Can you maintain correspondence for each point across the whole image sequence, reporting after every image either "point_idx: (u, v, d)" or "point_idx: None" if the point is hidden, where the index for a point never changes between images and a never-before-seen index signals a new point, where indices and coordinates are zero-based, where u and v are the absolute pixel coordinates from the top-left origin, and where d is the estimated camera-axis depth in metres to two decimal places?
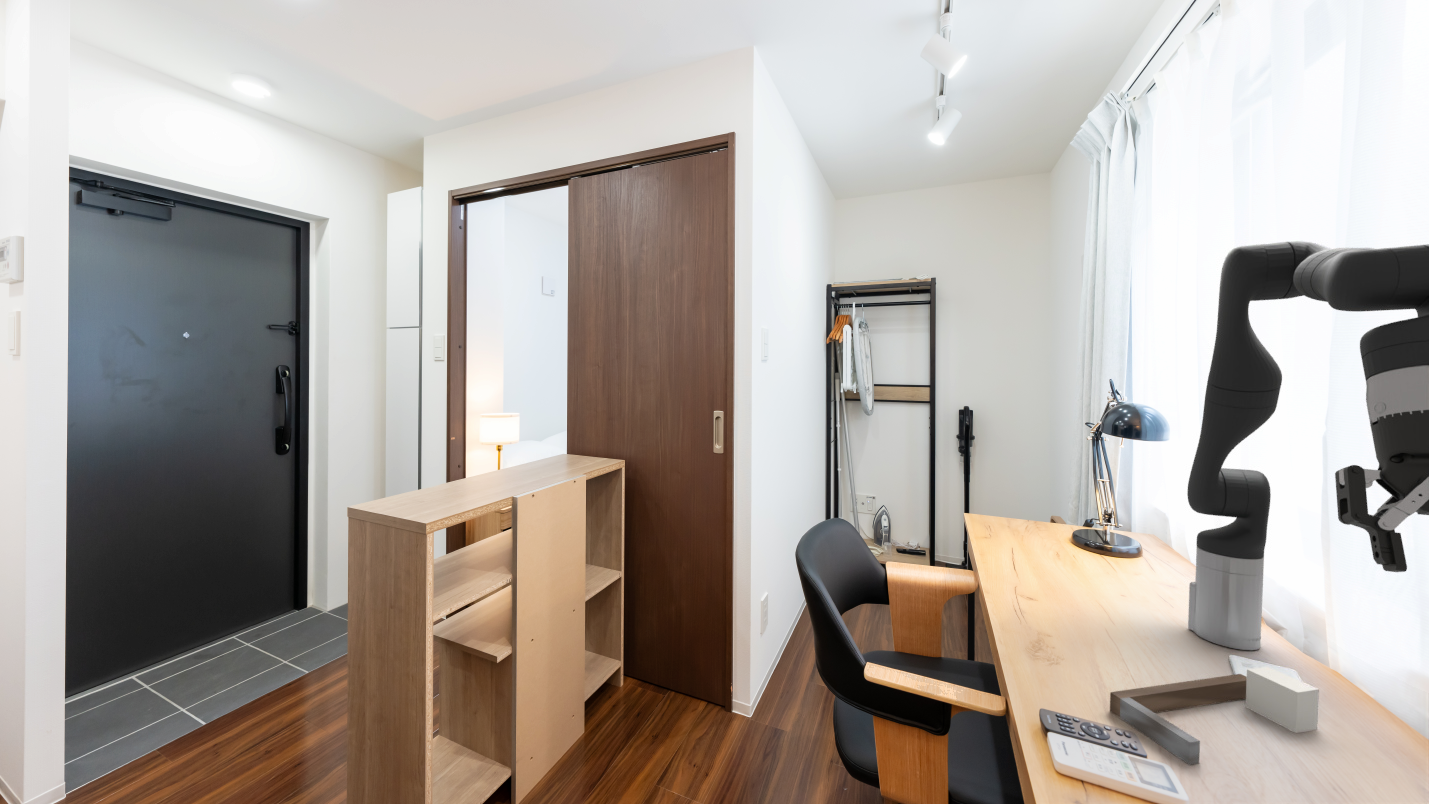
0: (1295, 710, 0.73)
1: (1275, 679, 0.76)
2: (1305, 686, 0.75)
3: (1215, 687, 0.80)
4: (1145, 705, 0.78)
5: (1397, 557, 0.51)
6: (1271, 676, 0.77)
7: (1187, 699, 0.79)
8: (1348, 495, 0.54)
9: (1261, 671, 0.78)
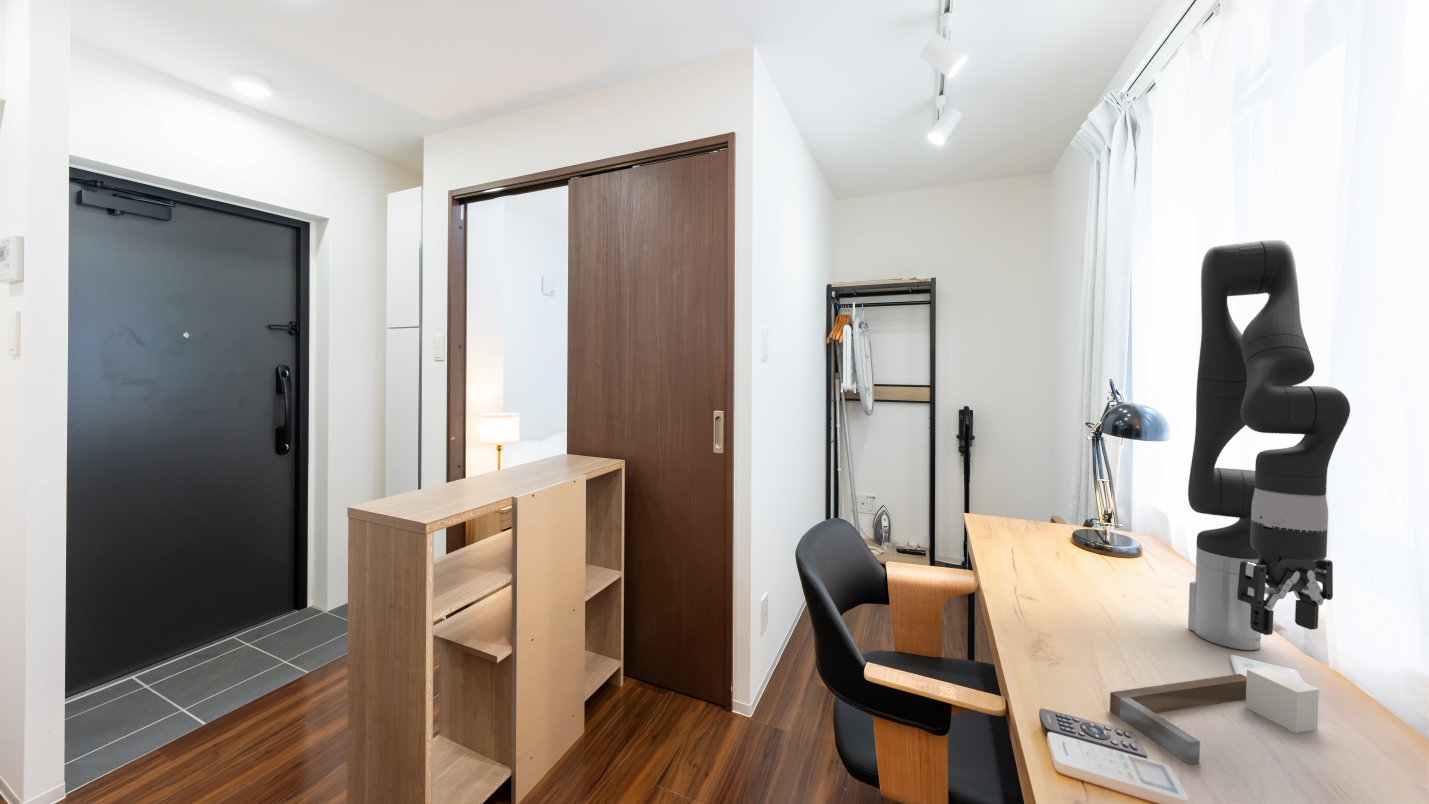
0: (1295, 710, 0.73)
1: (1275, 679, 0.76)
2: (1305, 686, 0.75)
3: (1215, 687, 0.80)
4: (1145, 705, 0.78)
5: (1269, 627, 0.74)
6: (1270, 676, 0.77)
7: (1187, 699, 0.79)
8: (1257, 588, 0.73)
9: (1261, 671, 0.78)
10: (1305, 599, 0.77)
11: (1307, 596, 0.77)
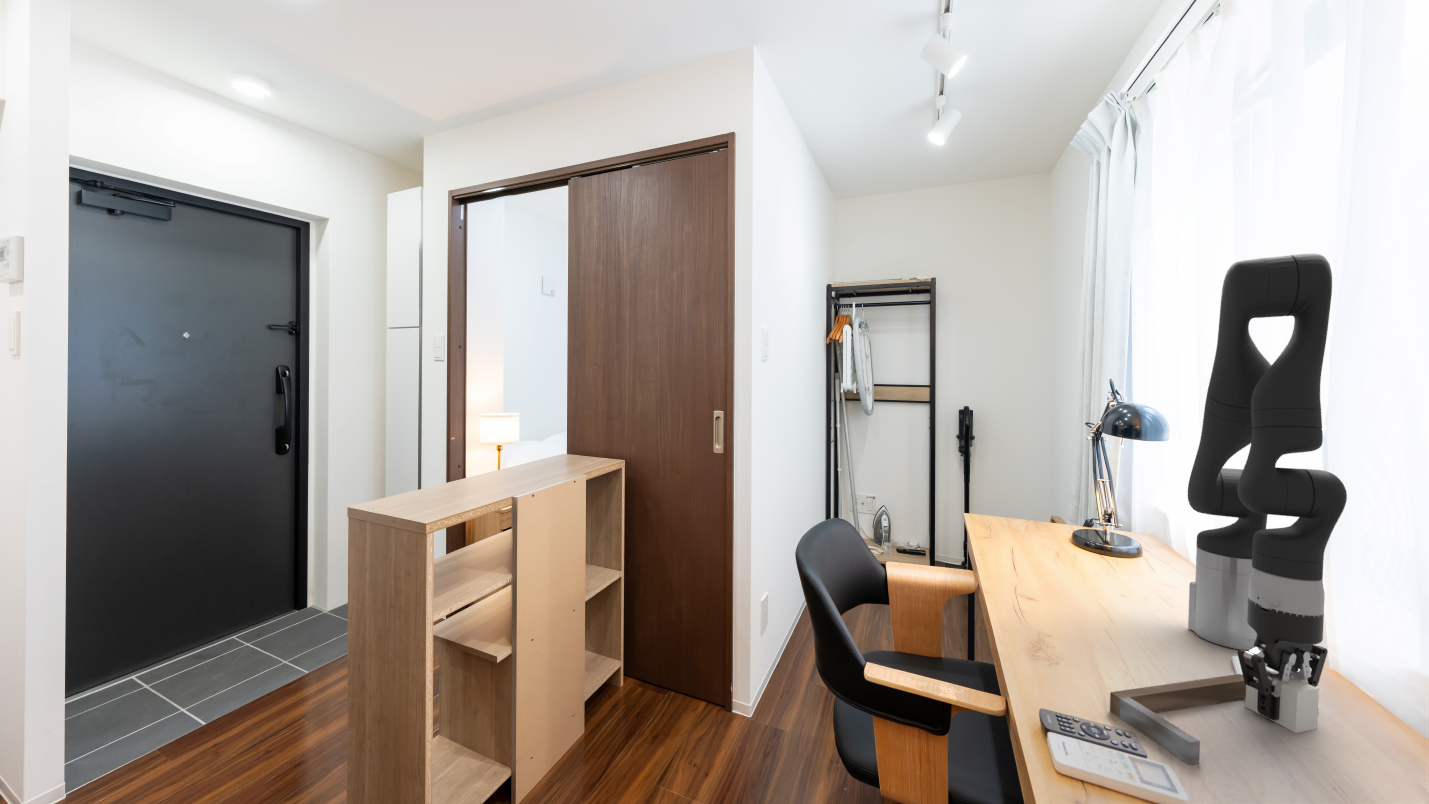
0: (1295, 710, 0.73)
1: None
2: (1305, 685, 0.75)
3: (1215, 687, 0.80)
4: (1145, 705, 0.78)
5: (1276, 713, 0.75)
6: None
7: (1187, 699, 0.79)
8: (1260, 679, 0.74)
9: None
10: None
11: None
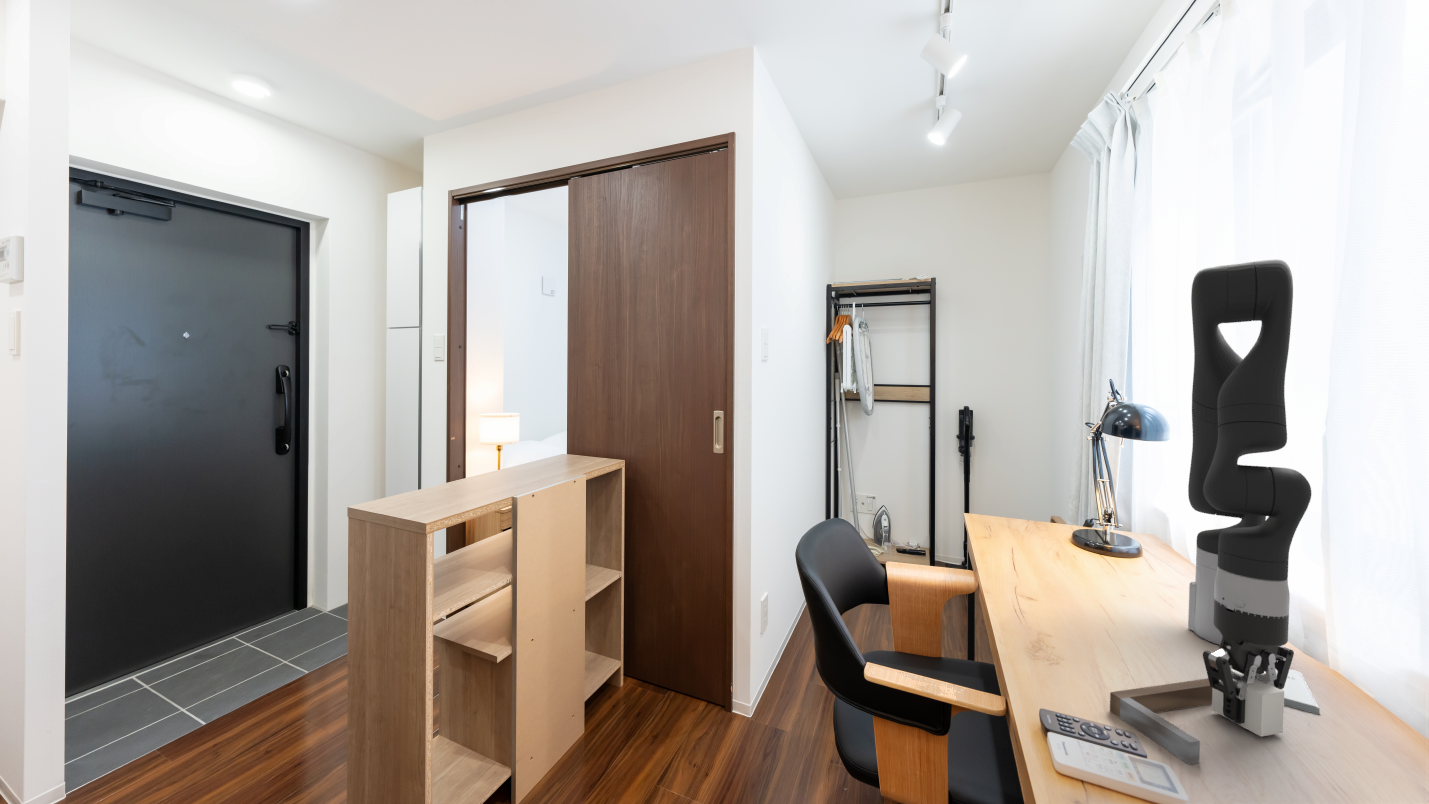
0: (1260, 713, 0.72)
1: None
2: (1270, 688, 0.73)
3: None
4: (1145, 705, 0.78)
5: (1242, 716, 0.73)
6: None
7: (1187, 699, 0.79)
8: (1225, 681, 0.73)
9: None
10: None
11: None
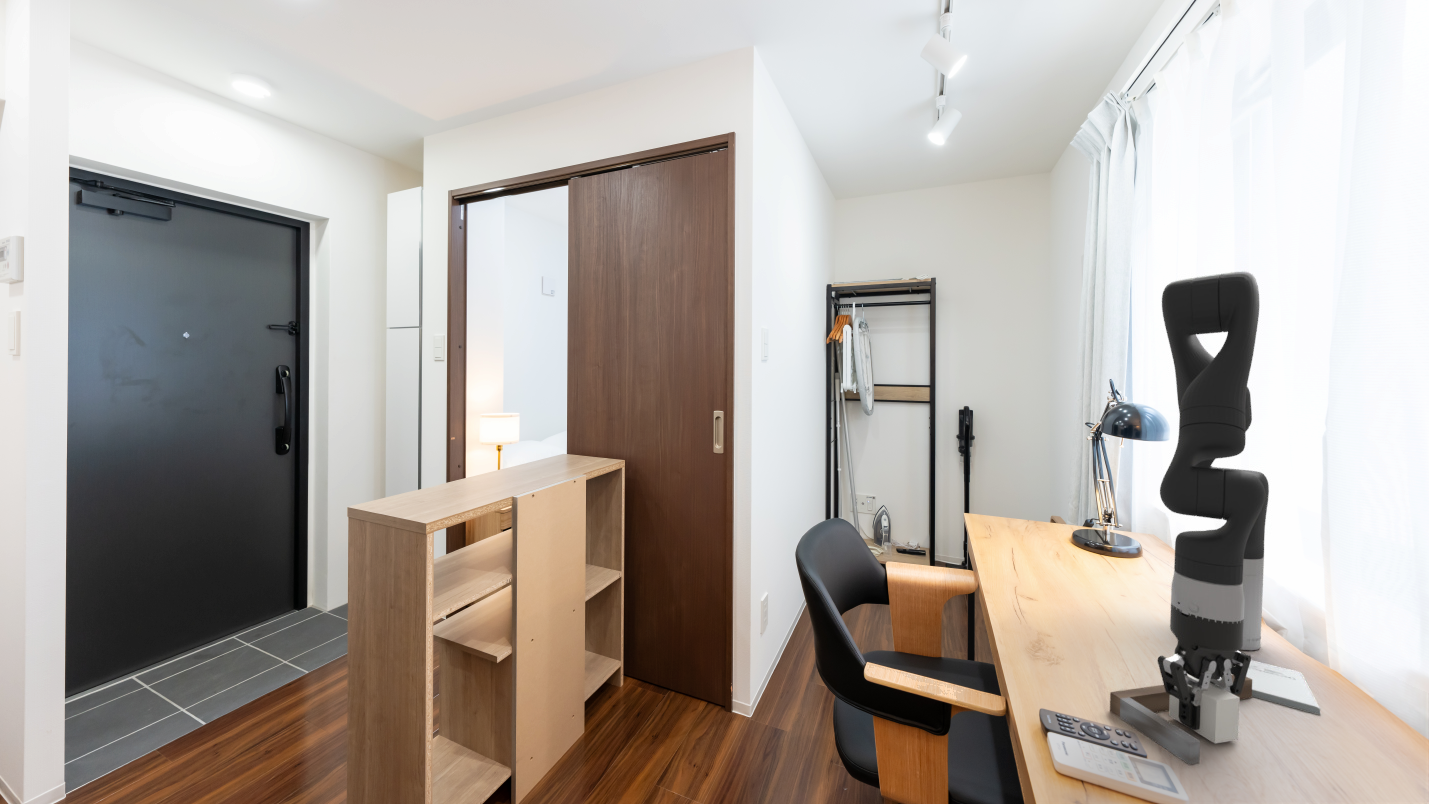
0: (1214, 720, 0.71)
1: None
2: (1226, 694, 0.72)
3: None
4: (1145, 705, 0.78)
5: (1197, 722, 0.72)
6: None
7: None
8: (1179, 687, 0.71)
9: None
10: None
11: None
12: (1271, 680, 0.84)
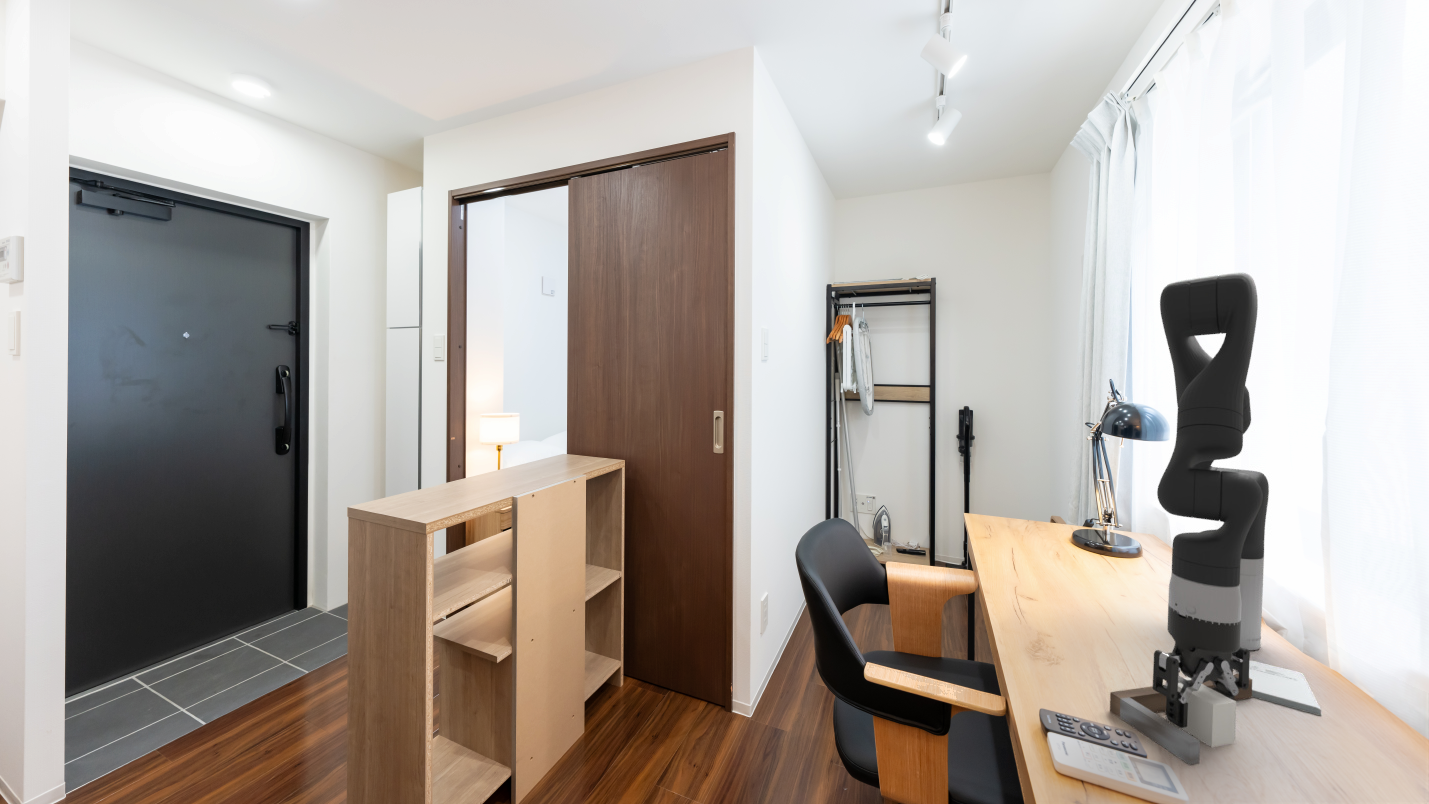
0: (1211, 724, 0.71)
1: (1194, 691, 0.73)
2: (1223, 698, 0.72)
3: None
4: (1145, 705, 0.78)
5: (1184, 720, 0.72)
6: None
7: None
8: (1170, 682, 0.71)
9: None
10: (1221, 688, 0.75)
11: (1223, 685, 0.74)
12: (1272, 680, 0.84)
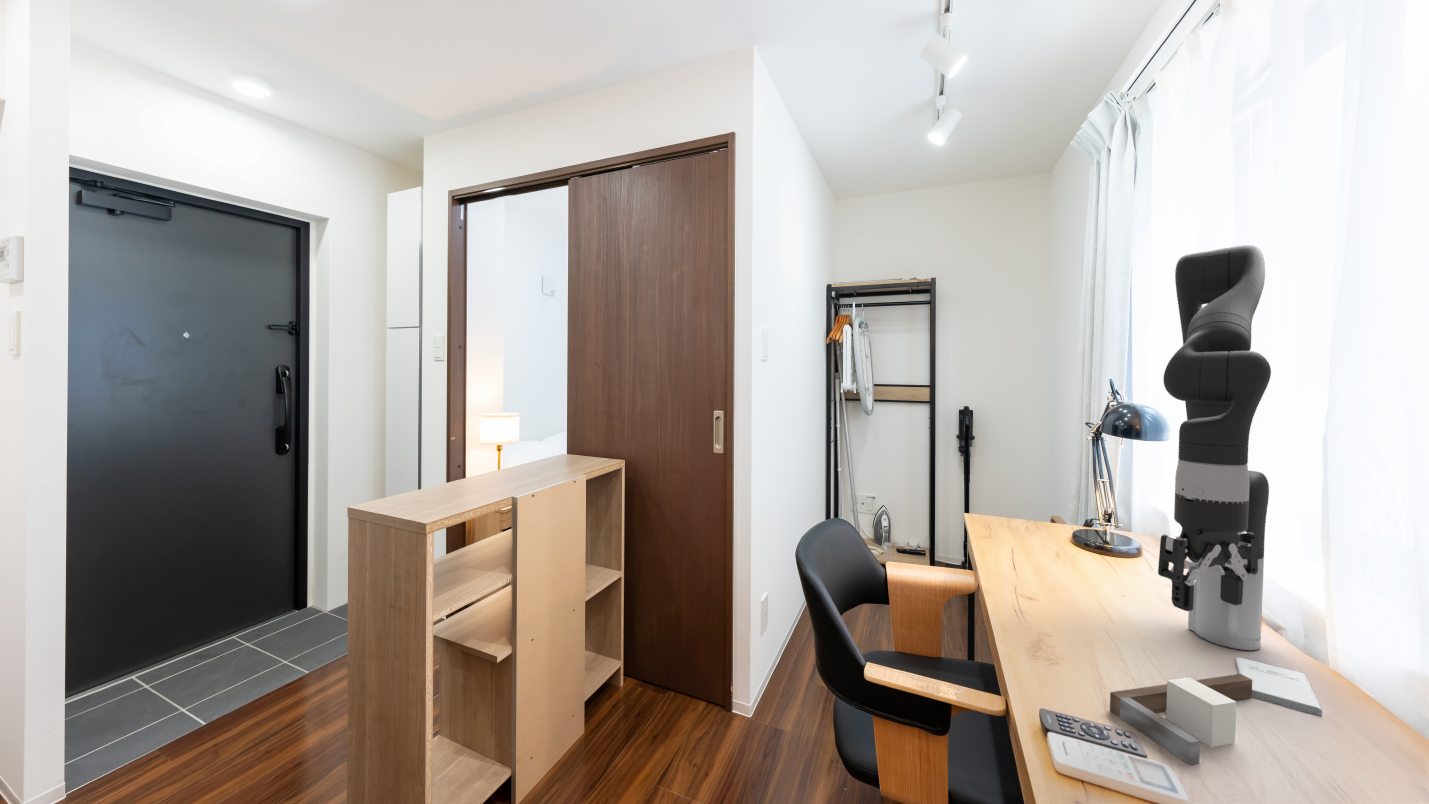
0: (1211, 724, 0.71)
1: (1194, 691, 0.73)
2: (1223, 698, 0.72)
3: (1215, 687, 0.80)
4: (1145, 705, 0.78)
5: (1190, 603, 0.71)
6: (1190, 688, 0.74)
7: None
8: (1176, 563, 0.70)
9: (1181, 682, 0.76)
10: (1230, 574, 0.74)
11: (1232, 571, 0.74)
12: (1273, 680, 0.84)
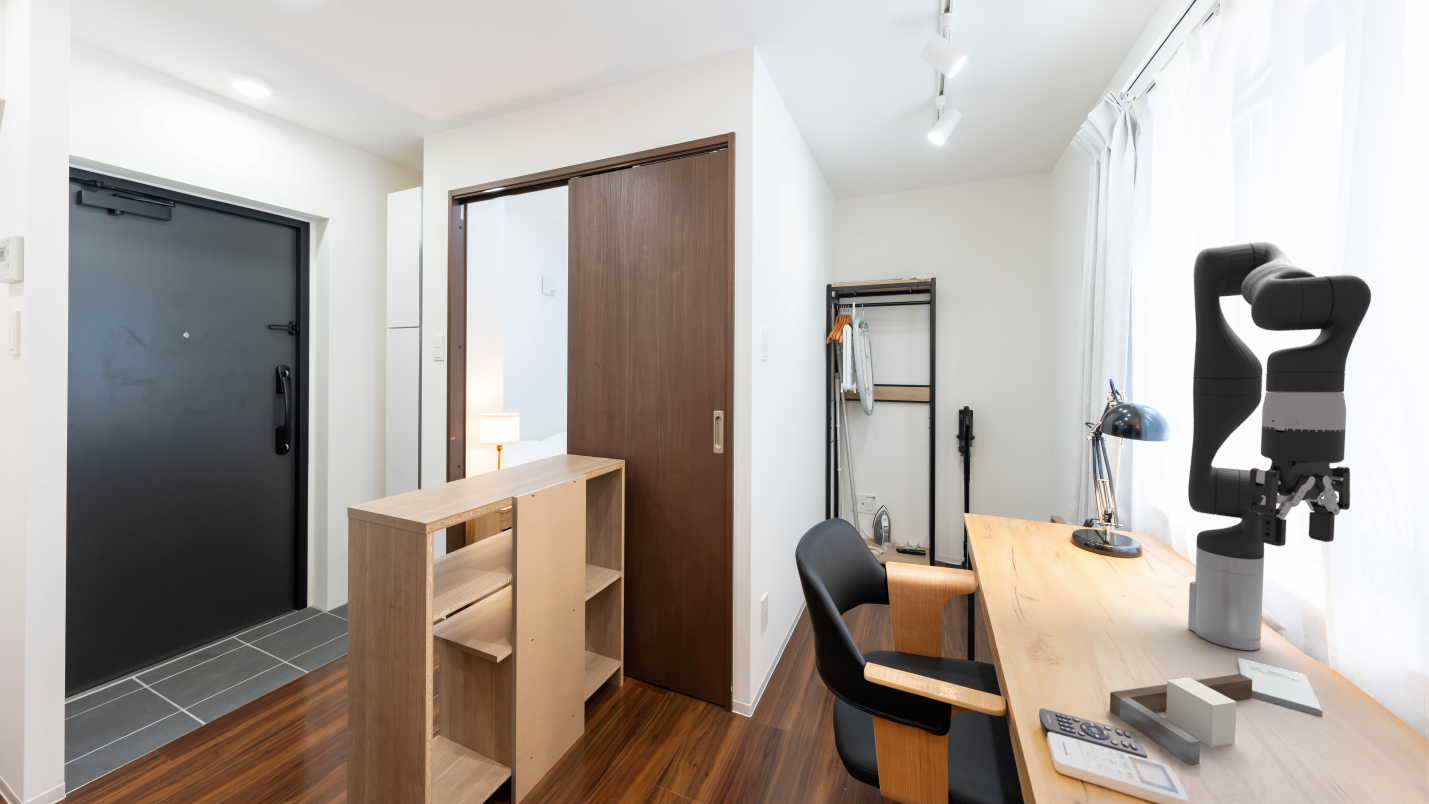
0: (1211, 724, 0.71)
1: (1194, 691, 0.73)
2: (1223, 698, 0.72)
3: (1215, 687, 0.80)
4: (1145, 705, 0.78)
5: (1282, 537, 0.69)
6: (1190, 688, 0.74)
7: None
8: (1269, 495, 0.68)
9: (1181, 682, 0.76)
10: (1320, 510, 0.71)
11: (1322, 507, 0.71)
12: (1274, 682, 0.84)
